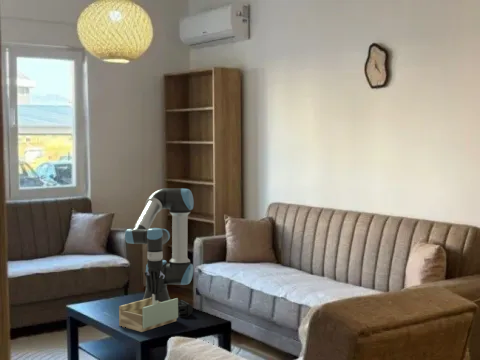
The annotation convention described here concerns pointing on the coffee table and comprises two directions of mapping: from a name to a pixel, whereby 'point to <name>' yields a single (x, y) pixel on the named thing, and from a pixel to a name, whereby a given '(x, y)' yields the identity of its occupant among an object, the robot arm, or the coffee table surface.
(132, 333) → the coffee table surface
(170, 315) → the panel
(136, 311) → the wooden tray box
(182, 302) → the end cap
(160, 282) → the robot arm
